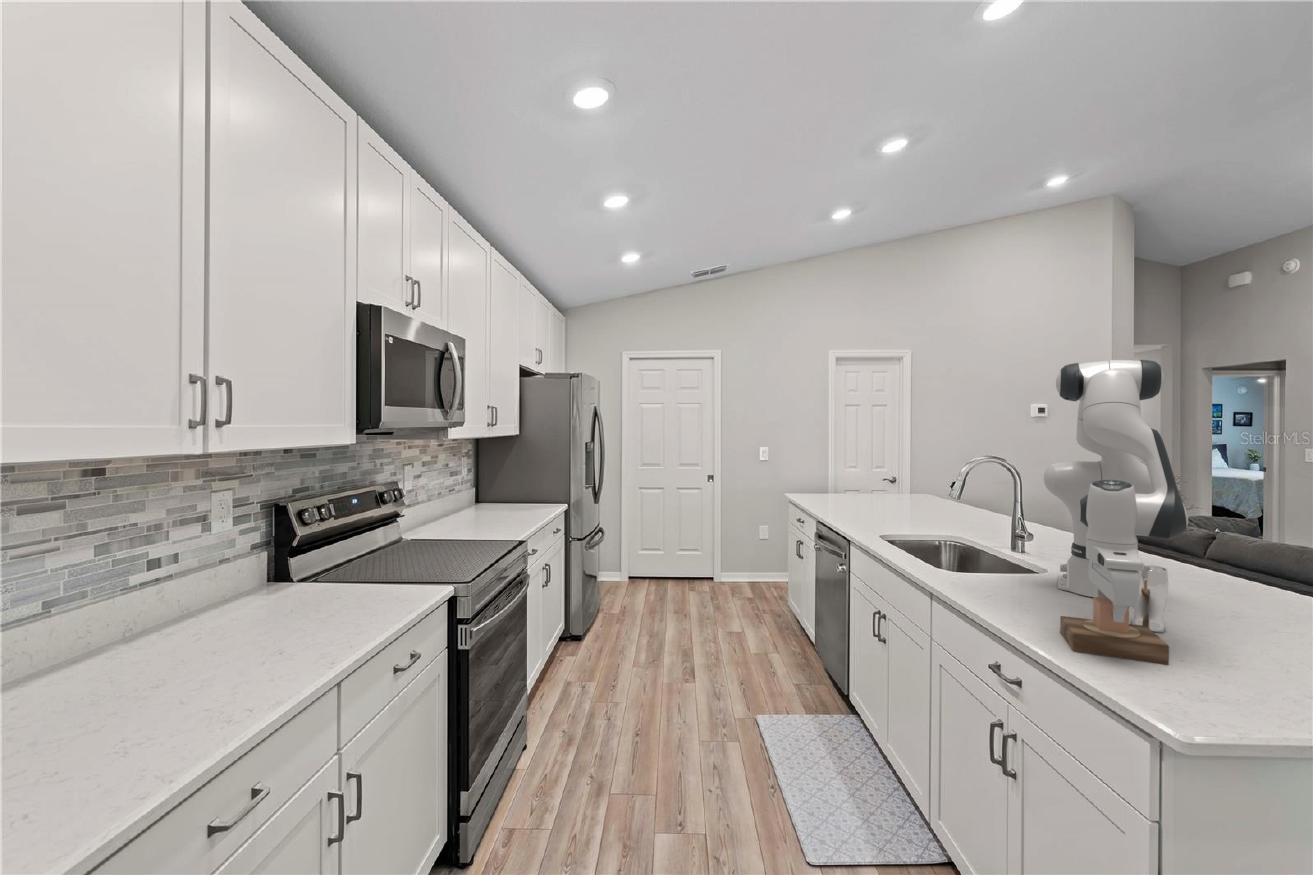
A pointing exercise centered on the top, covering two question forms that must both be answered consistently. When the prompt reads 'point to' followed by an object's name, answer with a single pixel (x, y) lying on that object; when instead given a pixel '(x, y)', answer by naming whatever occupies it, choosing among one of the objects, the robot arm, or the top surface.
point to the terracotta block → (1108, 616)
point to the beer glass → (1152, 598)
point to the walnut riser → (1114, 641)
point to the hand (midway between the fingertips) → (1110, 614)
